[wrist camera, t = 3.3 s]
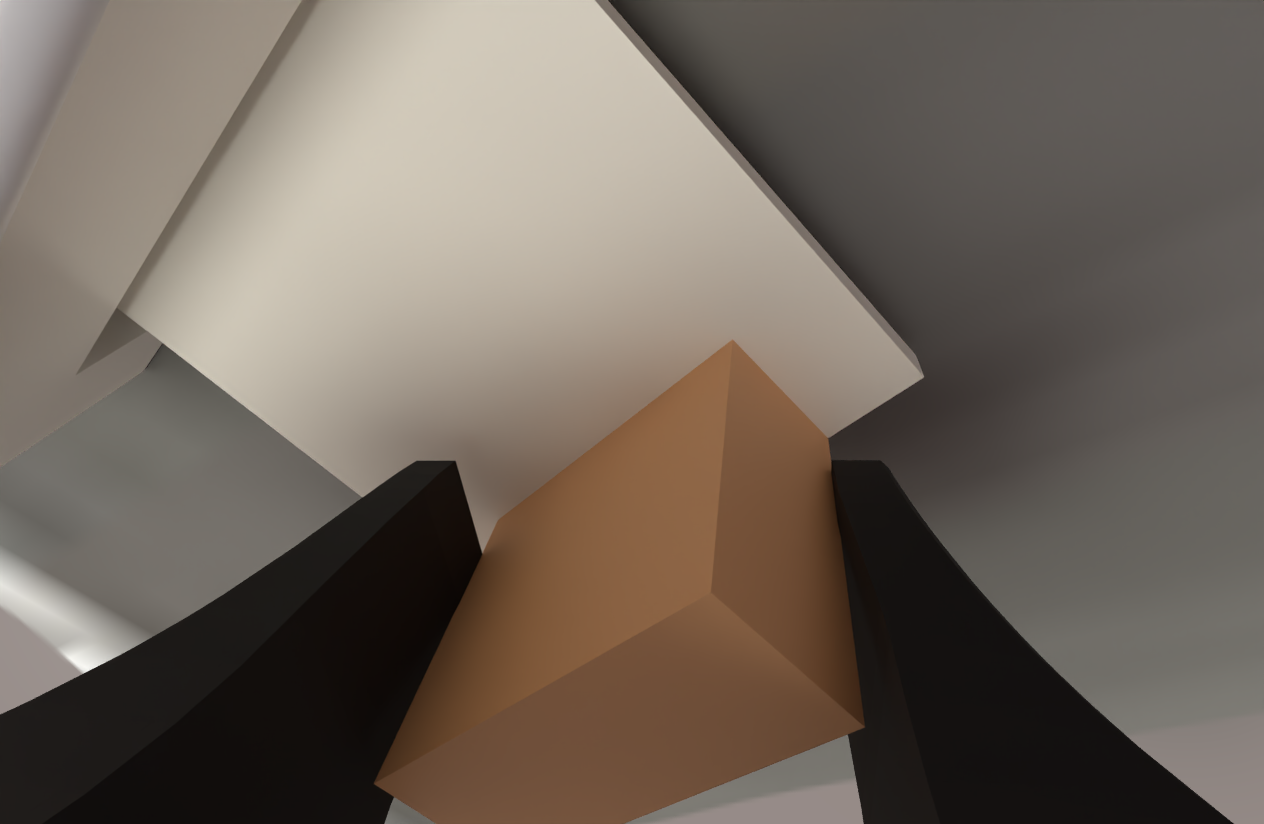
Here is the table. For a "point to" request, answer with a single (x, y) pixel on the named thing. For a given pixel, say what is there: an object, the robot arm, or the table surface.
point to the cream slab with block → (547, 387)
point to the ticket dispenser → (101, 178)
